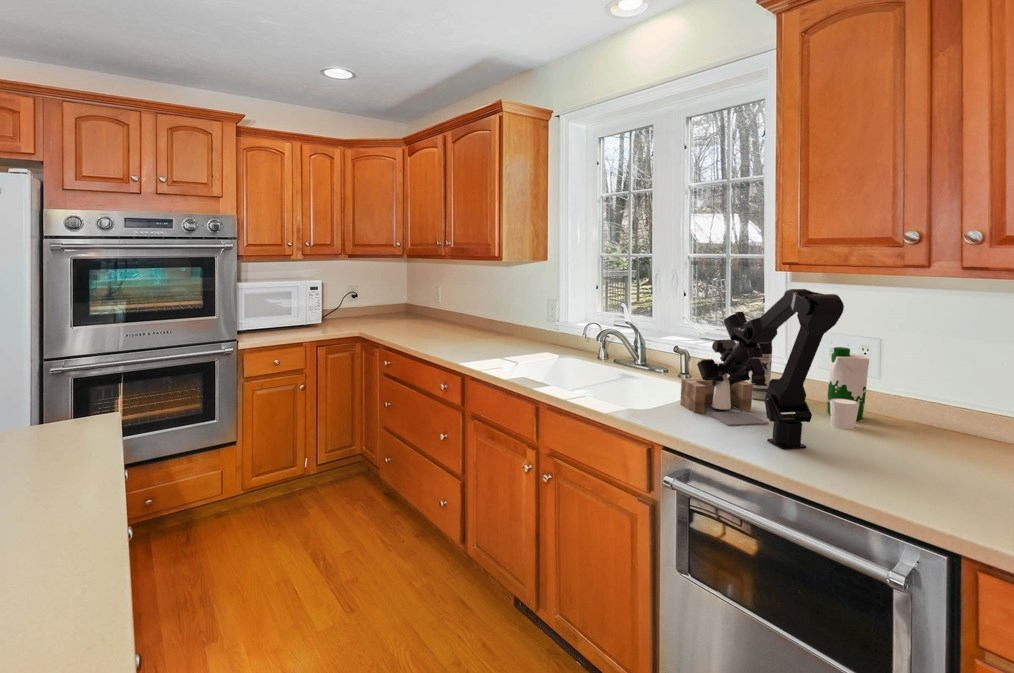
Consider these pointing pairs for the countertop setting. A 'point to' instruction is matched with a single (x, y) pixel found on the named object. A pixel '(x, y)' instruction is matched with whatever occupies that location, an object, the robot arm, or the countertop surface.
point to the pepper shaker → (722, 395)
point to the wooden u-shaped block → (702, 391)
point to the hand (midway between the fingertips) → (719, 384)
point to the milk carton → (848, 378)
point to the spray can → (763, 383)
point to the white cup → (843, 413)
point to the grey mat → (737, 418)
